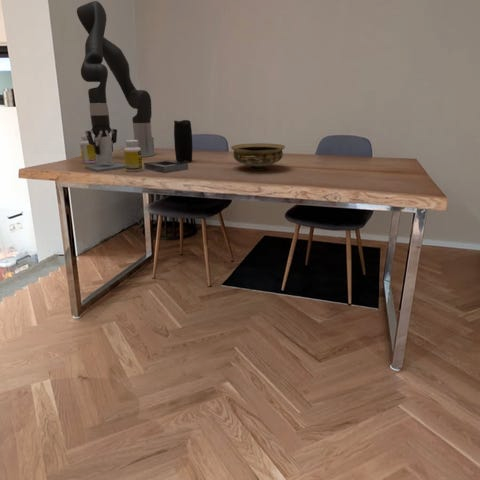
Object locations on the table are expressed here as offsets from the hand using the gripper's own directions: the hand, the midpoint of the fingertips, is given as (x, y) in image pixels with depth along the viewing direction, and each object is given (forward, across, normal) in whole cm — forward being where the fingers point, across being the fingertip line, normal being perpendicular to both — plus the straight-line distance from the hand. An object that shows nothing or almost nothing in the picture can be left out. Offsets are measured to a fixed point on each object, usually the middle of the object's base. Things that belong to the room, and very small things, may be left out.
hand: (104, 153), depth 176 cm
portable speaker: (+7, -36, +11) cm, 38 cm away
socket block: (+6, -18, +21) cm, 28 cm away
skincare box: (+5, 0, 0) cm, 5 cm away
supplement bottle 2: (+7, -6, +14) cm, 17 cm away
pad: (+6, 0, 0) cm, 6 cm away
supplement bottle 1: (+7, -2, -20) cm, 21 cm away
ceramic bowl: (+7, -47, +50) cm, 69 cm away
